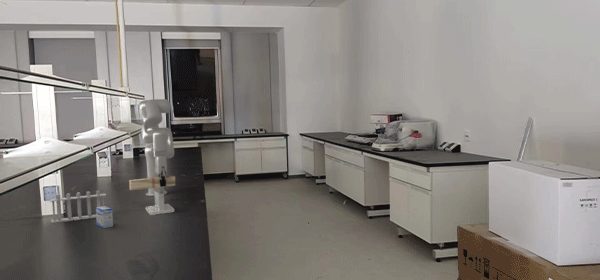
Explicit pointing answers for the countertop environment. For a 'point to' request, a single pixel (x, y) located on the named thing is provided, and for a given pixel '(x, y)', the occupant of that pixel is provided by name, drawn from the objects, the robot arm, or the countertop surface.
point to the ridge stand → (159, 205)
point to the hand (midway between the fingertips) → (162, 185)
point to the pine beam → (150, 183)
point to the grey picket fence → (77, 206)
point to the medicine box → (104, 217)
